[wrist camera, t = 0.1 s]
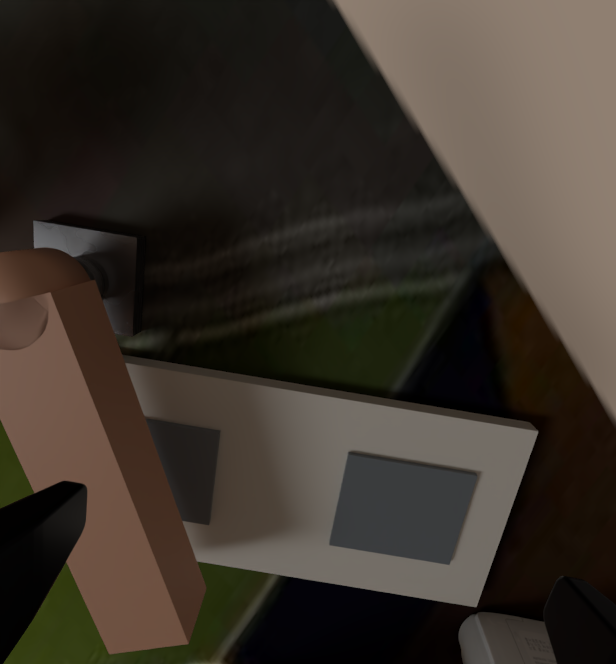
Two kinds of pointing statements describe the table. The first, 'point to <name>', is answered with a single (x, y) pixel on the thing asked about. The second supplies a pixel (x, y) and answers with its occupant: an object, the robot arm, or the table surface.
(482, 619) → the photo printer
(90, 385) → the cable arm
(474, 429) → the panel
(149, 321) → the table surface
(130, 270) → the dark plate
